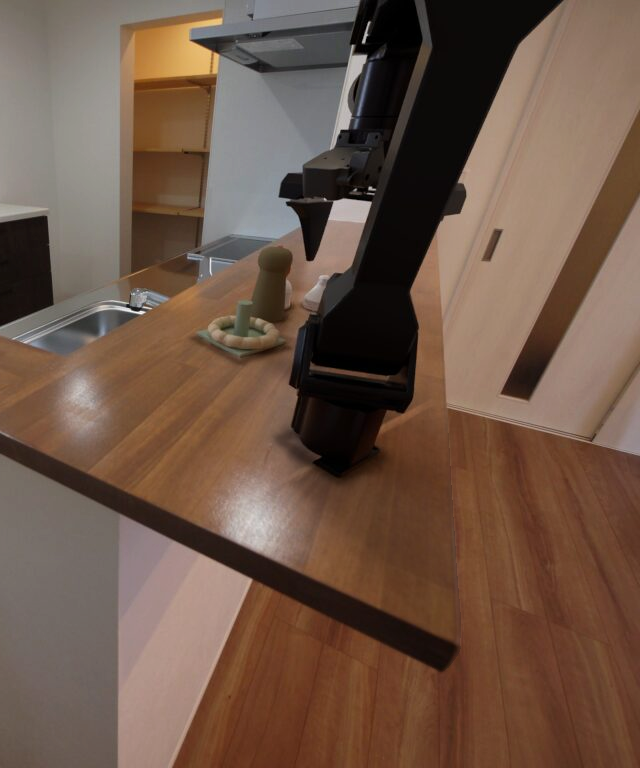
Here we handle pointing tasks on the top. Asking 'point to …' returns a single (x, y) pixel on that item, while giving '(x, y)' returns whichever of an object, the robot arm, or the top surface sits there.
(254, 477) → the top surface
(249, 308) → the green peg base
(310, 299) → the container set
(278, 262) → the olive pepper mill
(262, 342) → the ring
